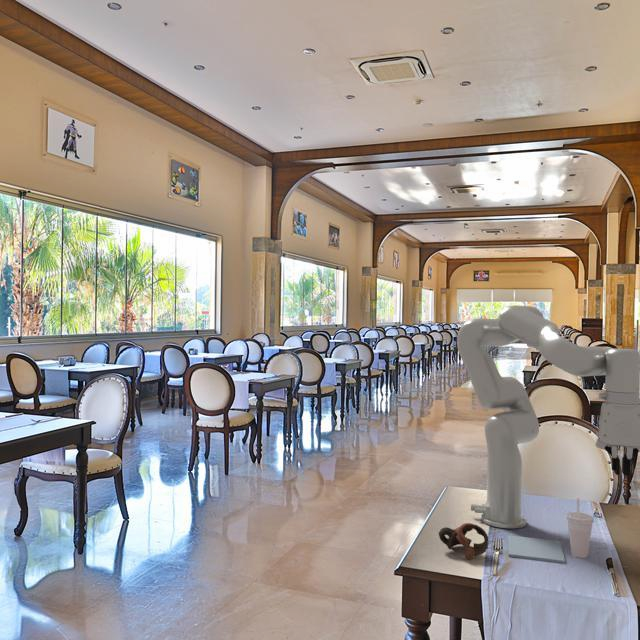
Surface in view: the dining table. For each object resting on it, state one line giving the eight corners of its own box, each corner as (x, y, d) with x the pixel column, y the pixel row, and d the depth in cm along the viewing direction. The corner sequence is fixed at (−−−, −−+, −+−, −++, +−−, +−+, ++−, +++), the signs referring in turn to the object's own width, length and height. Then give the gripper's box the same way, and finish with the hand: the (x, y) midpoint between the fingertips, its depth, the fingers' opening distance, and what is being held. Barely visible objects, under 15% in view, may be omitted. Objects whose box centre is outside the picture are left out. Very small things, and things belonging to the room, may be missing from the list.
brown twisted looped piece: (479, 547, 157) (490, 525, 153) (481, 577, 148) (493, 554, 145) (434, 533, 158) (444, 511, 154) (433, 562, 149) (443, 539, 145)
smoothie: (560, 550, 154) (561, 495, 154) (585, 550, 155) (586, 495, 155) (573, 560, 148) (574, 502, 148) (598, 559, 148) (599, 502, 149)
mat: (508, 556, 150) (508, 553, 150) (507, 537, 163) (507, 535, 163) (565, 563, 146) (565, 560, 146) (559, 543, 159) (559, 541, 159)
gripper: (590, 399, 148) (588, 474, 148) (661, 402, 143) (659, 480, 143) (585, 395, 155) (584, 467, 155) (653, 398, 150) (652, 473, 150)
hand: (620, 473), depth 149 cm, fingers closed
